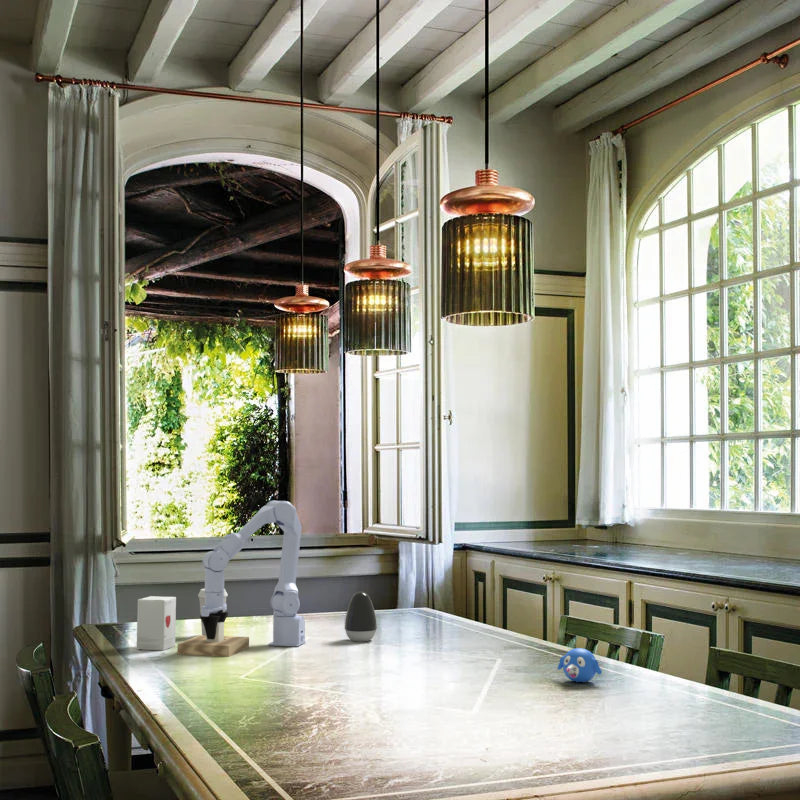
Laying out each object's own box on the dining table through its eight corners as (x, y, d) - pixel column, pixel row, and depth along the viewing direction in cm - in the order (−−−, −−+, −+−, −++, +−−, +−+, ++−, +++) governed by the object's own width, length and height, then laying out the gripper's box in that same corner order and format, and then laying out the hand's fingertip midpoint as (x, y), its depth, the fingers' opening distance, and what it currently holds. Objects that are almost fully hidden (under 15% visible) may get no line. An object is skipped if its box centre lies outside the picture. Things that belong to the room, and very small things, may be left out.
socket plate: (249, 647, 314) (249, 637, 314) (229, 656, 298) (229, 645, 299) (199, 645, 318) (199, 635, 318) (177, 654, 302) (177, 643, 302)
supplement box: (163, 651, 308) (164, 600, 309) (135, 650, 310) (136, 599, 311) (176, 645, 317) (177, 596, 318) (149, 644, 318) (149, 595, 319)
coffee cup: (224, 638, 330) (224, 591, 331) (194, 638, 330) (195, 591, 331) (229, 633, 339) (230, 587, 340) (200, 633, 340) (201, 587, 341)
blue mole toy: (544, 684, 259) (544, 650, 259) (565, 676, 268) (564, 643, 269) (589, 690, 252) (589, 655, 252) (608, 682, 262) (608, 648, 262)
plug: (223, 642, 310) (224, 617, 310) (218, 644, 306) (218, 618, 306) (211, 641, 310) (211, 616, 311) (205, 644, 307) (206, 618, 307)
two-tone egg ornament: (378, 638, 331) (378, 589, 332) (374, 643, 320) (374, 593, 321) (347, 637, 332) (347, 589, 333) (342, 642, 321) (342, 593, 322)
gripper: (211, 588, 317) (211, 633, 316) (191, 594, 303) (191, 641, 302) (233, 589, 316) (232, 634, 315) (214, 594, 301) (214, 642, 301)
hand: (214, 637), depth 308 cm, fingers closed on plug, 4 cm apart
